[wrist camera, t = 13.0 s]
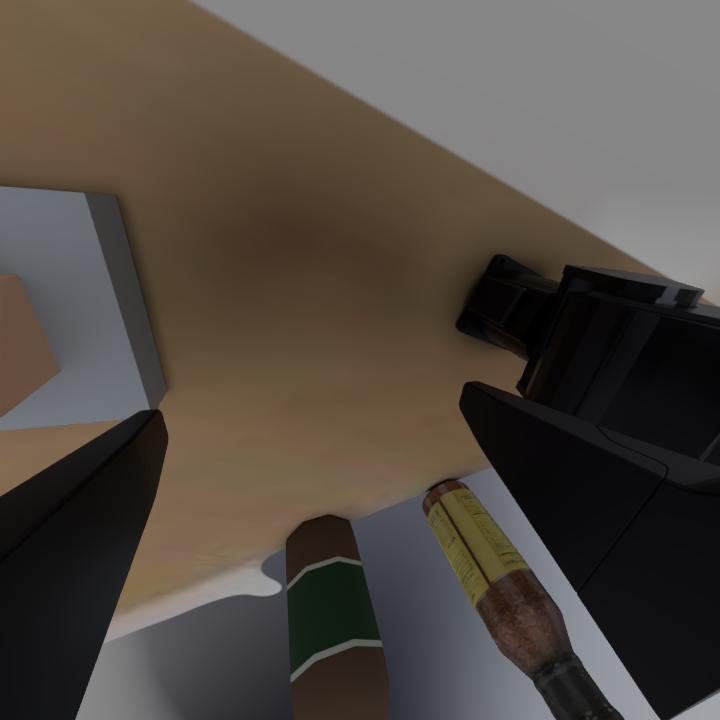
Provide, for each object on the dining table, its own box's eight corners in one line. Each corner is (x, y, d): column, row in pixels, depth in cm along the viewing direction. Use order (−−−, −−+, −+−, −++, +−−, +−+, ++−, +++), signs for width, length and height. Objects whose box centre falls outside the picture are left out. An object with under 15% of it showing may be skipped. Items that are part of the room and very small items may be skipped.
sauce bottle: (435, 519, 37) (574, 784, 20) (410, 501, 34) (549, 797, 17) (476, 488, 36) (656, 736, 19) (455, 467, 33) (647, 740, 16)
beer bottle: (293, 514, 30) (341, 1200, 9) (362, 512, 33) (518, 1033, 12) (277, 561, 33) (288, 1166, 12) (343, 556, 35) (441, 1037, 15)
